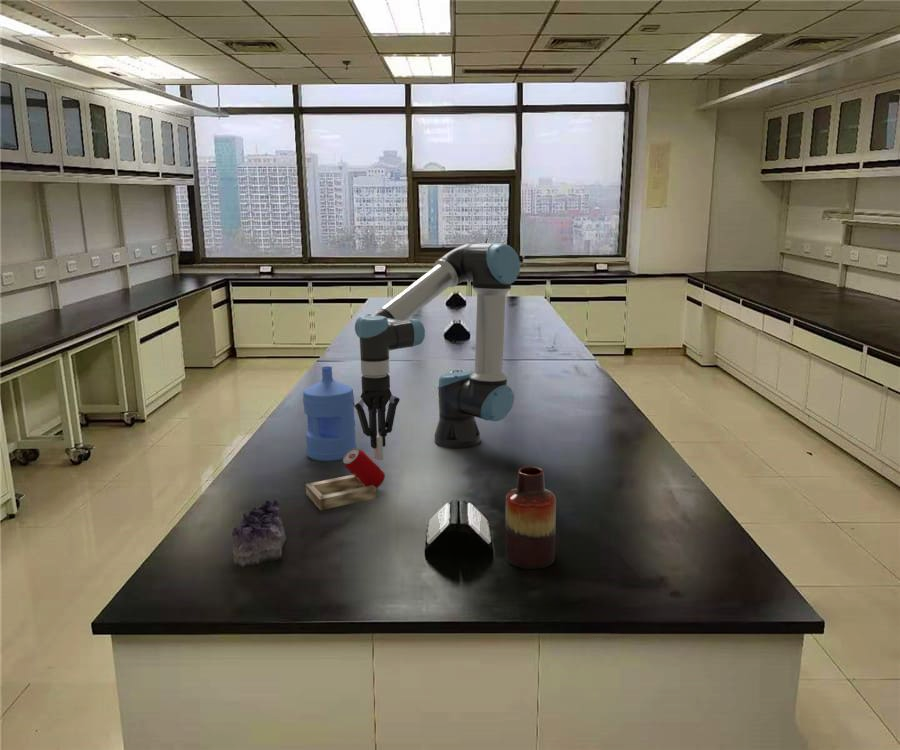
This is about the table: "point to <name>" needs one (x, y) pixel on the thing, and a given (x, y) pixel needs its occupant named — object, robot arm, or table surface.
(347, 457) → the beverage can
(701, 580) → the table surface
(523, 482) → the vase
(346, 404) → the water jug
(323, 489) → the u rest
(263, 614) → the table surface
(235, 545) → the geode
